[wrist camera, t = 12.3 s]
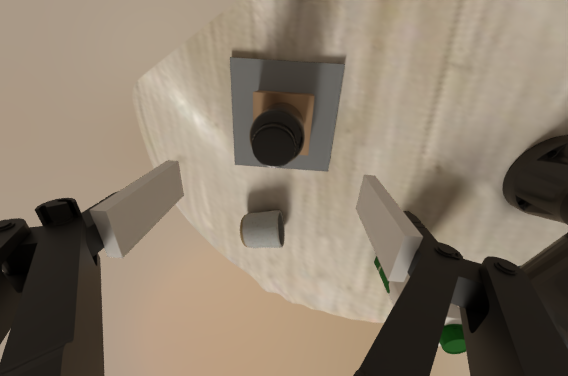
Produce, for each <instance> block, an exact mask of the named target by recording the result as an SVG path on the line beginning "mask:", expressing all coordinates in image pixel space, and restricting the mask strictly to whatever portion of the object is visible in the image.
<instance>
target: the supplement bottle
mask: <svg viewBox="0 0 568 376" xmlns="http://www.w3.org/2000/svg"><path fill="white" fill-rule="evenodd" d="M249 140H250V145H251V147H252V150H253V154H254V156H255V158H256V159H257V160H258V161H259V162H260V163H261V164H263V165H264V166H267V167H271V168H273V167H274V168H277V167H281V166H284V165H286V164H288V163H289V162H291V161H293V160H294V159H295V158H296V157H297V156H298V155H299V154H300V152H301V151H302V149H303V146H304V141H305V131H304V121H303V117H302V115H301V113H300V112H299V110H298V109H297V108H296V107H294V106H293V105H291V104H289V103H285V102H278V103H274V104H272V105H270V106H269V107H267V108H266V109H265V110H264V111H263V112H262V113H261V114H260V115H259V116H258V117H257V118H256V119H255V120H254V122H253V123H252V125H251V128H250V132H249Z"/></svg>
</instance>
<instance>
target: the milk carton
mask: <svg viewBox="0 0 568 376" xmlns="http://www.w3.org/2000/svg"><path fill="white" fill-rule="evenodd" d="M374 263H375V265H376V268H377V270H378V272H379V274H380V276H381V279H382V281H383V283H384V286H385V288H386V291H387V293H388V295H389V298H390V300H391V303H392V305H393V307H394V305H395V303H396V301H397V299H398V298H399V296H400V294H401V292H402V290H403V289H404V287H405V285H406V283H407V281H408V280H409V278H410V276H409V274H407V276H406V278H405V281H404V282H395V281H388V280H387V278H386V275H385V273H384V271H383V269H382V266H381V264H380V262H379V260H378V257H377V256H376V259H375V261H374ZM438 346H442V348H443V350H444V351H445V352H447V353H450V354H460V353H463V352H466V345H465V339H464V333H463V327H462V321H461V315H460V308H459V307H458V306H457V305H454V304H450V307H449V311H448V314H447V317H446V321H445V324H444V328H443V331H442V335H441V338H440V341H439V345H438Z"/></svg>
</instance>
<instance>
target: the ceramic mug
mask: <svg viewBox="0 0 568 376" xmlns="http://www.w3.org/2000/svg"><path fill="white" fill-rule="evenodd" d="M240 236H241V240H242V243H243V244H244V245H245V246H246V247H250V248H281V247H283V245H284V220H283V215H282V212H281V211H280V210H275V211H266V212H256V213H250V214H246V215H244V217H243V218H242V220H241V224H240Z"/></svg>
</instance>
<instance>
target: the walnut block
mask: <svg viewBox="0 0 568 376" xmlns="http://www.w3.org/2000/svg"><path fill="white" fill-rule="evenodd" d="M314 97H315V96H314V95H313V94H308V93H292V92H276V91H261V90H258V91H255V92H253V122H254V120H255V119H256V118H257V117H258V116H259V115H260V114H261V113H262V112H263V111H264V110H265V109H266V108H267V107H269V106H270V105H272V104H274V103H278V102H285V103H289V104H291V105H293V106H294V107H296V108H297V109H298V110H299V112H300V113H301V115H302V117H303V121H304V131H305V141H304V146H303V149H302V151H301V152H300V154H299V155H308V152H309V143H310V134H311V124H312V115H313V106H314Z"/></svg>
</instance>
